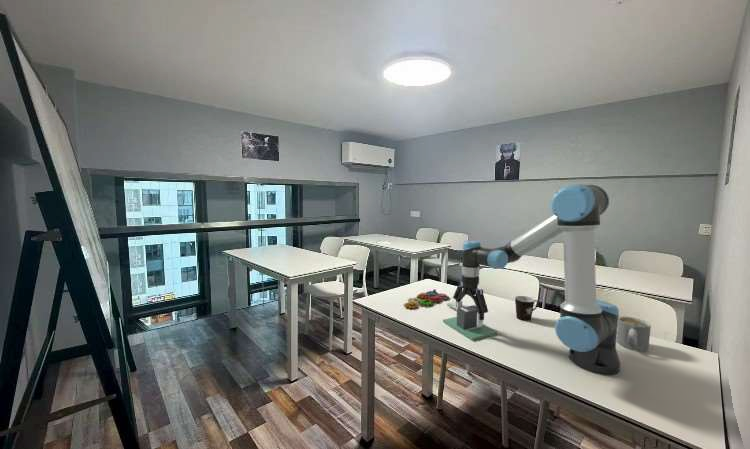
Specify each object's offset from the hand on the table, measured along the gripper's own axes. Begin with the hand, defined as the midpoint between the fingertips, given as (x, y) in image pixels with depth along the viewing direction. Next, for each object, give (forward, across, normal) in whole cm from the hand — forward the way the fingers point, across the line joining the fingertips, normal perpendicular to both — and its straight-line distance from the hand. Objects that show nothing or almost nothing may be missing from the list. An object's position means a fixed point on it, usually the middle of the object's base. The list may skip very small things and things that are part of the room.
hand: (469, 320), depth 138 cm
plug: (+2, 0, 0) cm, 2 cm away
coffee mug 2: (+4, -40, -48) cm, 63 cm away
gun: (+4, +16, -11) cm, 20 cm away
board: (+4, 0, 0) cm, 4 cm away
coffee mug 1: (+4, -4, -33) cm, 33 cm away
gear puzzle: (+4, +37, 0) cm, 37 cm away
